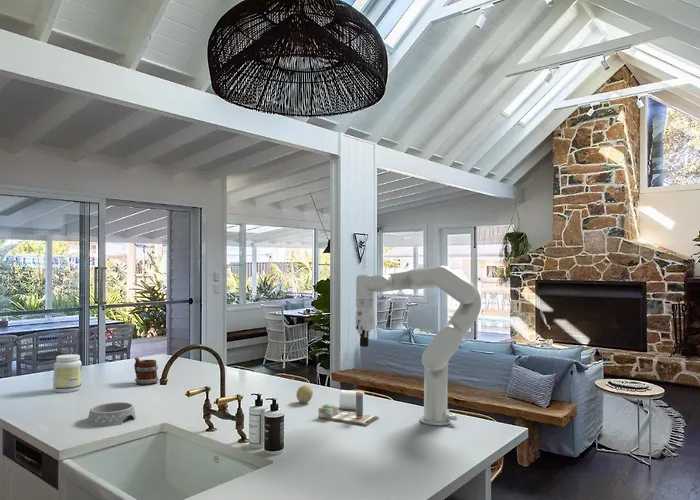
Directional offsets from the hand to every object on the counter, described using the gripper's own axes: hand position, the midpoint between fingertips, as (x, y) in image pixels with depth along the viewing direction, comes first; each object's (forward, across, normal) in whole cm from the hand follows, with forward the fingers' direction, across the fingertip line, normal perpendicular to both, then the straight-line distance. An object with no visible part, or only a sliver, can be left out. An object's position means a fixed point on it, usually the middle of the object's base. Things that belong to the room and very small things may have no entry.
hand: (364, 346), depth 225 cm
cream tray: (+29, -8, +3) cm, 30 cm away
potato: (+29, +4, +32) cm, 44 cm away
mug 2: (+29, +8, +9) cm, 32 cm away
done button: (+27, -11, +11) cm, 31 cm away
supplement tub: (+29, -34, +146) cm, 153 cm away
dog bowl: (+30, -57, +86) cm, 107 cm away
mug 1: (+29, -4, +126) cm, 129 cm away
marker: (+28, -8, -2) cm, 29 cm away
